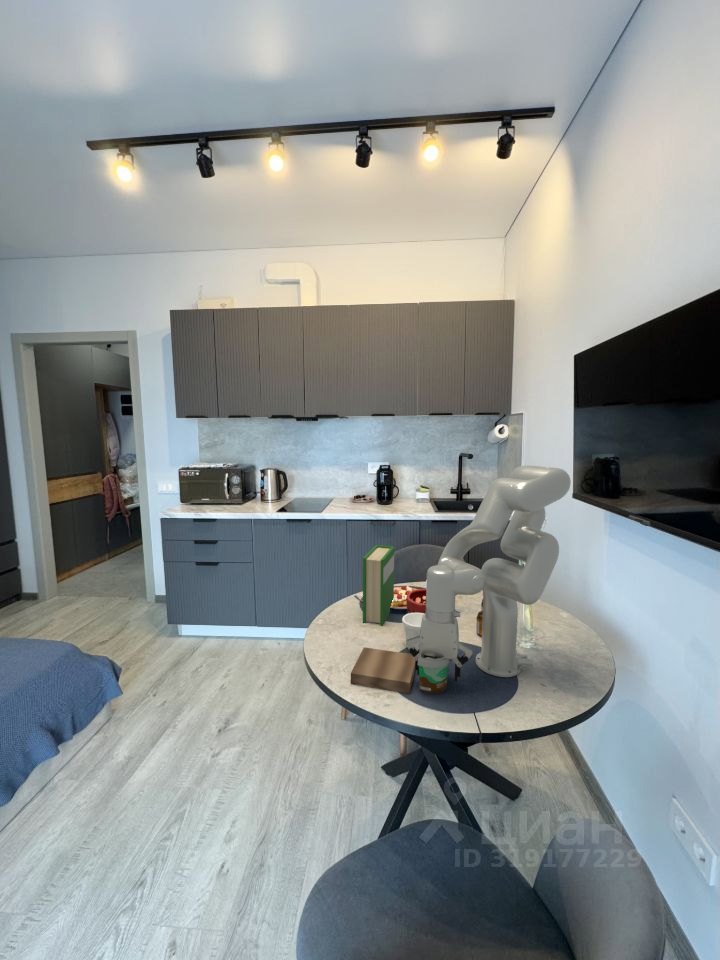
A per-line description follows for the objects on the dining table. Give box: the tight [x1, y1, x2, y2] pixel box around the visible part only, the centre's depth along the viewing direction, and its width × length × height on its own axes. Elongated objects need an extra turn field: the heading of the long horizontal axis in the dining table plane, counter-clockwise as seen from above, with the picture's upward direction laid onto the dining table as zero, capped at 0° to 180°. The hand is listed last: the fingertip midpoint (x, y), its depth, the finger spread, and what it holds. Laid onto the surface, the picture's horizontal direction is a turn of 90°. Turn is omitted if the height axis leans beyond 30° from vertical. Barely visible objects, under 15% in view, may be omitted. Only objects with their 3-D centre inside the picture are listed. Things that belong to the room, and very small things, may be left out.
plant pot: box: [406, 588, 426, 614], centre depth 140 cm, size 13×13×12 cm
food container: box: [418, 655, 453, 695], centre depth 108 cm, size 12×6×10 cm, turn 143°
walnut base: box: [350, 647, 416, 695], centre depth 114 cm, size 16×14×3 cm
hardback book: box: [362, 544, 395, 627], centre depth 151 cm, size 18×7×24 cm, turn 163°
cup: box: [401, 613, 424, 650], centre depth 128 cm, size 10×10×9 cm
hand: (437, 675), depth 108 cm, fingers open, 9 cm apart
